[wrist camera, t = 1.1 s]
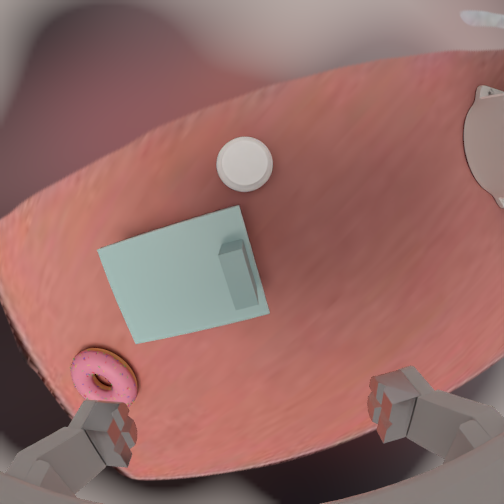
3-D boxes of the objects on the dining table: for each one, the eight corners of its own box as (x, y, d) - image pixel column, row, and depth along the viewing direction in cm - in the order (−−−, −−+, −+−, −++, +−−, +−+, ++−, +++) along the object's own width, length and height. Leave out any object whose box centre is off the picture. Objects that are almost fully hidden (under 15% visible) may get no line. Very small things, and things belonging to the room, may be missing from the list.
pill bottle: (248, 198, 35) (249, 206, 26) (211, 170, 34) (199, 169, 25) (278, 162, 34) (288, 158, 25) (241, 133, 33) (239, 120, 24)
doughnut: (85, 393, 42) (75, 408, 38) (71, 337, 39) (58, 351, 35) (145, 405, 42) (138, 422, 38) (136, 348, 39) (126, 364, 35)
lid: (239, 204, 29) (237, 210, 24) (269, 309, 31) (272, 332, 27) (101, 247, 30) (78, 260, 25) (138, 339, 32) (124, 363, 27)
